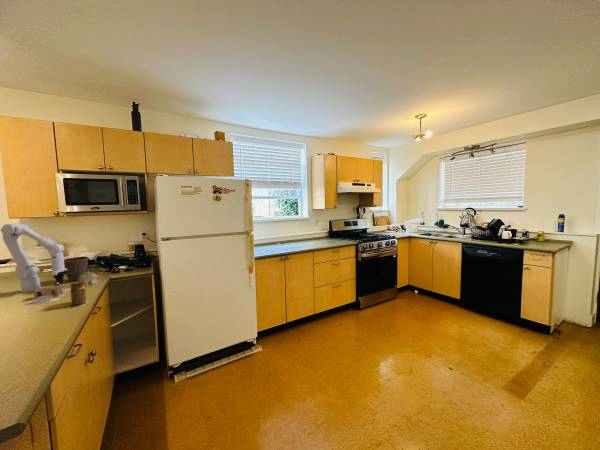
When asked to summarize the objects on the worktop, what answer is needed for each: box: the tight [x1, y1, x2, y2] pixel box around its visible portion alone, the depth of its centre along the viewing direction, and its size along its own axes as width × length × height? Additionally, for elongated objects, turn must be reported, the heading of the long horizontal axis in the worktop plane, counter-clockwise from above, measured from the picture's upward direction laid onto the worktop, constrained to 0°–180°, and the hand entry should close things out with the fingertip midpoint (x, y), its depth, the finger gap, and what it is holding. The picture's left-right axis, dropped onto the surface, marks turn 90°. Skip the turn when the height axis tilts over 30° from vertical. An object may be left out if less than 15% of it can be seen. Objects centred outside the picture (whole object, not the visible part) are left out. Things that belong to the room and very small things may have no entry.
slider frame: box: [31, 281, 66, 303], centre depth 148 cm, size 23×7×5 cm, turn 27°
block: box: [42, 290, 55, 296], centre depth 147 cm, size 4×4×4 cm
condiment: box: [66, 281, 90, 309], centre depth 136 cm, size 7×8×12 cm
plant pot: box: [63, 256, 89, 283], centre depth 180 cm, size 15×15×16 cm
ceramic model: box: [78, 271, 102, 288], centre depth 168 cm, size 14×11×10 cm
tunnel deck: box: [21, 284, 71, 308], centre depth 147 cm, size 26×14×6 cm, turn 27°
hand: (60, 283), depth 162 cm, fingers closed
